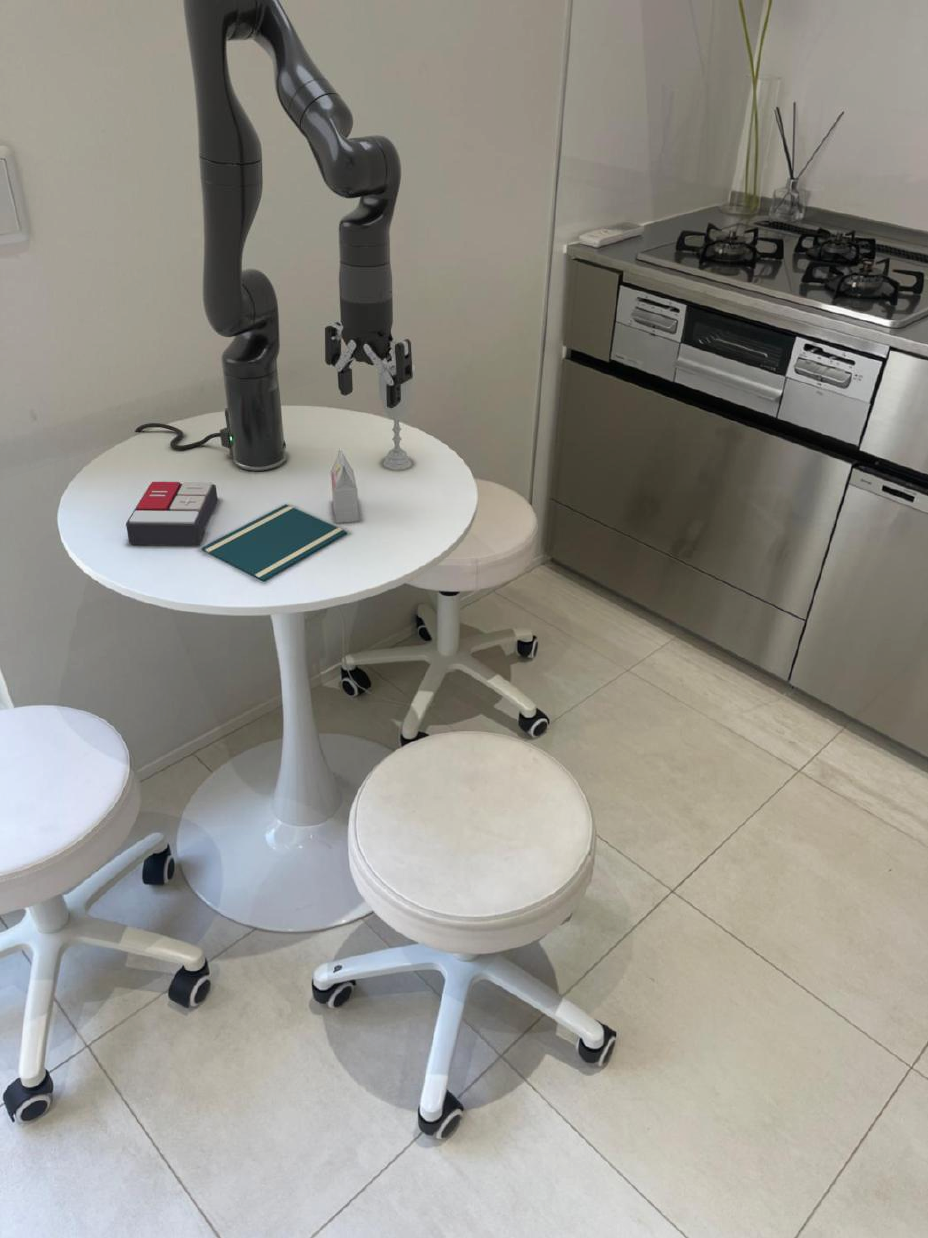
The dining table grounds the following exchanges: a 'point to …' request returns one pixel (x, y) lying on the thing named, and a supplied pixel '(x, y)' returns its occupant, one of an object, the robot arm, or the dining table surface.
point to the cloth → (274, 542)
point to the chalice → (396, 421)
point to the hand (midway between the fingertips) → (369, 399)
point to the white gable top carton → (344, 491)
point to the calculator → (172, 513)
